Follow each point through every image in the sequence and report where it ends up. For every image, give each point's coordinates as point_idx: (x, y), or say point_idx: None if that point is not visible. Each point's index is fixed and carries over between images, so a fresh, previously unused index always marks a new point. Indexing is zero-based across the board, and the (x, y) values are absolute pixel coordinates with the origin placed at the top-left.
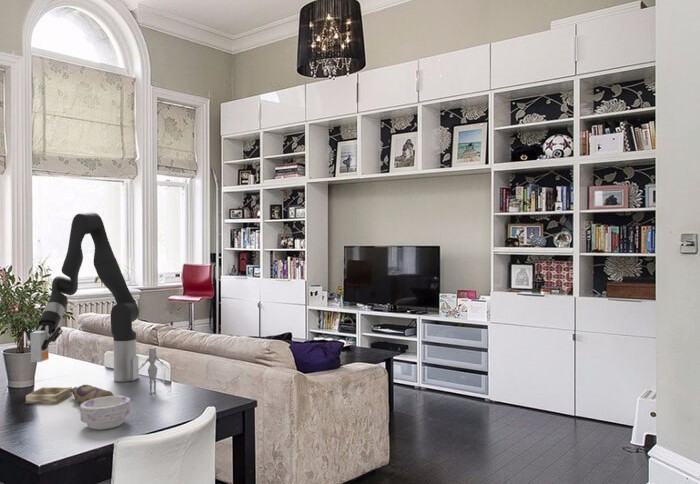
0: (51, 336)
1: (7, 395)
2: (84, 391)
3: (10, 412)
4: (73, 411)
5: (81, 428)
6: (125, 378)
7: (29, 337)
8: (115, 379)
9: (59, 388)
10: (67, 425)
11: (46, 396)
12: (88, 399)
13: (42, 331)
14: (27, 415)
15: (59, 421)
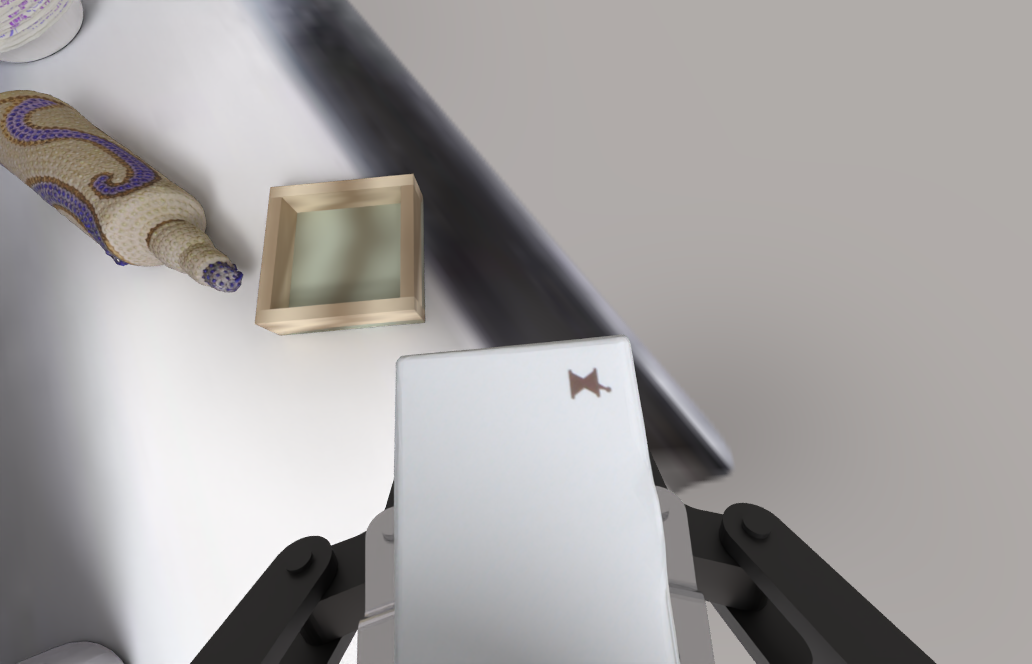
0: (301, 578)
1: (598, 305)
2: (105, 150)
3: (413, 100)
4: (185, 130)
5: (106, 3)
6: (26, 659)
7: (747, 524)
8: (105, 661)
9: (316, 306)
10: (156, 18)
11: (319, 186)
12: (98, 129)
13: (443, 550)
14: (331, 80)
15: (195, 43)
